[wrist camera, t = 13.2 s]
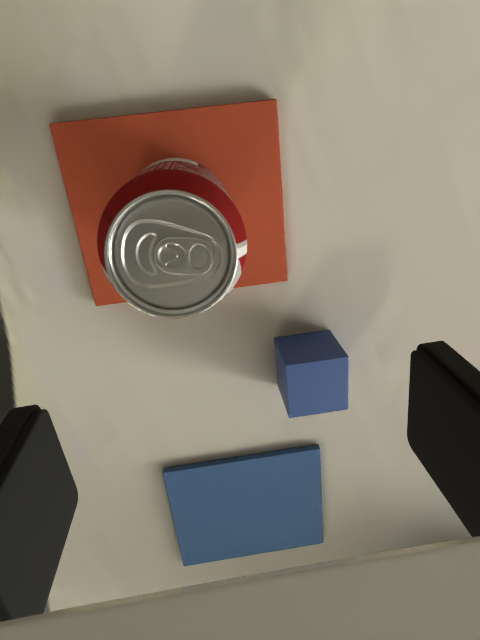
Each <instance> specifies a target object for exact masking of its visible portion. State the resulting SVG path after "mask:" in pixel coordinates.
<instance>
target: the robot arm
mask: <svg viewBox="0 0 480 640" xmlns="http://www.w3.org/2000/svg"><path fill="white" fill-rule="evenodd" d="M407 437H408V441H409V444H410V447H411V448H412V450H413V451H414V453H415V454H416V456H417V457H418V459H419V460H420V462H421V463H422V464H423V466H424V467H425V469H426V470H427V472H428V473H429V475H430V476H431V478H432V479H433V480H434V482H435V483H436V485H437V486H438V488H439V489H440V491H441V492H442V494H443V495H444V497H445V498H446V499H447V501H448V502H449V504H450V505H451V507H452V508H453V510H454V511H455V513H456V514H457V515H458V517H459V518H460V520H461V521H462V523H463V524H464V526H465V527H466V529H467V530H468V532H469V533H470V534H471V536H472V537H471V538H464V539H458V540H451V541H445V542H439V543H433V544H427V545H422V546H416V547H410V548H404V549H398V550H392V551H386V552H381V553H375V554H369V555H363V556H357V557H351V558H346V559H340V560H334V561H328V562H322V563H317V564H311V565H305V566H300V567H294V568H288V569H283V570H277V571H271V572H266V573H260V574H254V575H249V576H243V577H238V578H232V579H226V580H221V581H215V582H209V583H204V584H198V585H193V586H187V587H182V588H176V589H171V590H165V591H160V592H154V593H149V594H143V595H138V596H132V597H127V598H122V599H116V600H111V601H105V602H100V603H94V604H89V605H83V606H78V607H72V608H67V609H62V610H57V611H52V612H47V613H43V612H44V609H45V606H46V603H47V599H48V596H49V593H50V590H51V587H52V583H53V580H54V577H55V574H56V570H57V567H58V564H59V561H60V558H61V554H62V551H63V548H64V545H65V541H66V538H67V535H68V532H69V529H70V525H71V522H72V519H73V516H74V513H75V509H76V506H77V502H78V492H77V488H76V485H75V482H74V480H73V477H72V474H71V472H70V469H69V466H68V463H67V461H66V458H65V455H64V453H63V450H62V447H61V445H60V442H59V439H58V437H57V434H56V431H55V428H54V426H53V423H52V420H51V418H50V415H49V413H48V411H47V410H45V409H42V410H41V408H40V407H39V406H38V405H31V406H24V407H18V408H13V409H11V410H10V411H9V413H8V414H7V416H6V417H5V419H4V420H3V422H2V423H1V425H0V640H480V371H479V370H477V369H476V368H475V367H474V366H473V365H471V364H470V363H469V362H468V361H467V360H465V359H464V358H463V357H462V356H461V355H460V354H458V353H457V352H456V351H455V350H454V349H452V348H451V347H450V346H449V345H448V344H446V343H445V342H444V341H437V342H430V343H424V344H420V345H418V347H417V350H415V351H413V352H412V353H411V362H410V384H409V405H408V426H407Z"/></svg>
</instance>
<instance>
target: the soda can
mask: <svg viewBox="0 0 480 640" xmlns="http://www.w3.org/2000/svg"><path fill="white" fill-rule="evenodd" d="M97 249H98V255H99V259H100V263H101V266H102V268H103V271H104V273H105V275H106V277H107V278H108V280H109V281H110V283H111V284H112V286H113V287H114V288H115V289H116V291H117V292H118V293H119V294H120V295H121V296H122V297H123V298H124V299H125V300H126V301H127V302H128V303H129V304H131V305H132V306H133V307H135V308H136V309H138V310H140V311H142V312H144V313H146V314H149V315H152V316H155V317H159V318H166V319H180V318H187V317H191V316H194V315H197V314H200V313H202V312H204V311H206V310H207V309H209V308H211V307H212V306H214V305H215V304H217V303H218V302H219V301H221V300H222V299H223V298H224V297H225V296H226V295H227V294H228V293H229V292H230V291H231V290H232V289H233V287H234V286H235V284H236V283H237V281H238V279H239V277H240V275H241V273H242V271H243V268H244V265H245V260H246V255H247V236H246V230H245V226H244V223H243V220H242V217H241V215H240V213H239V211H238V209H237V207H236V206H235V204H234V203H233V201H232V199H231V198H230V196H229V195H228V193H227V191H226V190H225V188H224V187H223V185H222V183H221V182H220V180H219V179H218V178H217V177H216V176H215V174H214V173H212V172H211V171H210V170H209V169H208V168H206V167H205V166H203V165H201V164H200V163H197V162H195V161H192V160H189V159H184V158H168V159H163V160H159V161H157V162H154V163H152V164H151V165H149V166H147V167H146V168H145V169H143V170H142V171H141V172H139V173H138V174H137V175H136V176H134V177H133V178H132V179H131V180H129V181H128V182H127V183H126V184H124V185H123V186H122V187H121V188H120V189H119V190H118V191H117V192H116V193H115V194H114V195H113V196H112V198H111V199H110V200H109V202H108V203H107V205H106V207H105V209H104V211H103V213H102V215H101V218H100V222H99V226H98V232H97Z"/></svg>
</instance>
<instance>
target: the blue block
mask: <svg viewBox="0 0 480 640" xmlns="http://www.w3.org/2000/svg"><path fill="white" fill-rule="evenodd" d="M274 342H275V355H276V367H277V380H278V387H279V390H280V393H281V396H282V399H283V402H284V405H285V408H286V410H287V413H288V416H289V418H293V417H300V416H306V415H313V414H320V413H326V412H333V411H340V410H346V409H348V355H347V354H346V353H345V351H344V350H343V348H342V347H341V345H340V344H339V343H338V341H337V340H336V338H335V337H334V336H333V334H332V333H331V331H330V330H327V331H319V332H312V333H305V334H298V335H291V336H284V337H276V338H274Z"/></svg>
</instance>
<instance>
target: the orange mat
mask: <svg viewBox="0 0 480 640" xmlns="http://www.w3.org/2000/svg"><path fill="white" fill-rule="evenodd" d="M49 125H50V129H51V133H52V137H53V141H54V145H55V149H56V153H57V157H58V160H59V164H60V168H61V172H62V176H63V180H64V184H65V188H66V192H67V195H68V199H69V203H70V207H71V211H72V215H73V219H74V223H75V227H76V231H77V234H78V238H79V242H80V246H81V250H82V254H83V258H84V262H85V266H86V269H87V273H88V277H89V281H90V285H91V289H92V293H93V297H94V301H95V304H96V306H101V305H108V304H116V303H123V302H127V301H126V300H125V299H124V298H123V297H122V296H121V295H120V294H119V293H118V292H117V291H116V289H115V288H114V287H113V286H112V284H111V283H110V281H109V280H108V278H107V277H106V275H105V273H104V271H103V268H102V266H101V263H100V259H99V255H98V249H97V232H98V226H99V222H100V218H101V215H102V213H103V211H104V209H105V207H106V205H107V203H108V202H109V200H110V199H111V198H112V196H113V195H114V194H115V193H116V192H117V191H118V190H119V189H120V188H121V187H122V186H123V185H124V184H126V183H127V182H128V181H129V180H131V179H132V178H133V177H134V176H136V175H137V174H138V173H139V172H141V171H142V170H143V169H145V168H146V167H147V166H149V165H151V164H152V163H154V162H157V161H159V160H163V159H168V158H184V159H189V160H192V161H195V162H197V163H200V164H201V165H203V166H205V167H206V168H208V169H209V170H210V171H211V172H212V173H214V174H215V176H216V177H217V178H218V179H219V180H220V182H221V183H222V185H223V187H224V188H225V190H226V191H227V193H228V195H229V196H230V198H231V199H232V201H233V203H234V204H235V206H236V207H237V209H238V211H239V213H240V215H241V217H242V220H243V223H244V226H245V230H246V236H247V255H246V260H245V265H244V268H243V271H242V273H241V275H240V277H239V279H238V281H237V283H236V284H235V286H234V287H233V288H237V287H244V286H252V285H259V284H267V283H274V282H282V281H287V263H286V246H285V230H284V213H283V197H282V180H281V164H280V147H279V131H278V114H277V100H276V99H270V100H261V101H252V102H243V103H234V104H224V105H215V106H206V107H197V108H188V109H178V110H169V111H160V112H151V113H142V114H132V115H123V116H114V117H105V118H96V119H87V120H77V121H68V122H59V123H50V124H49Z"/></svg>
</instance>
